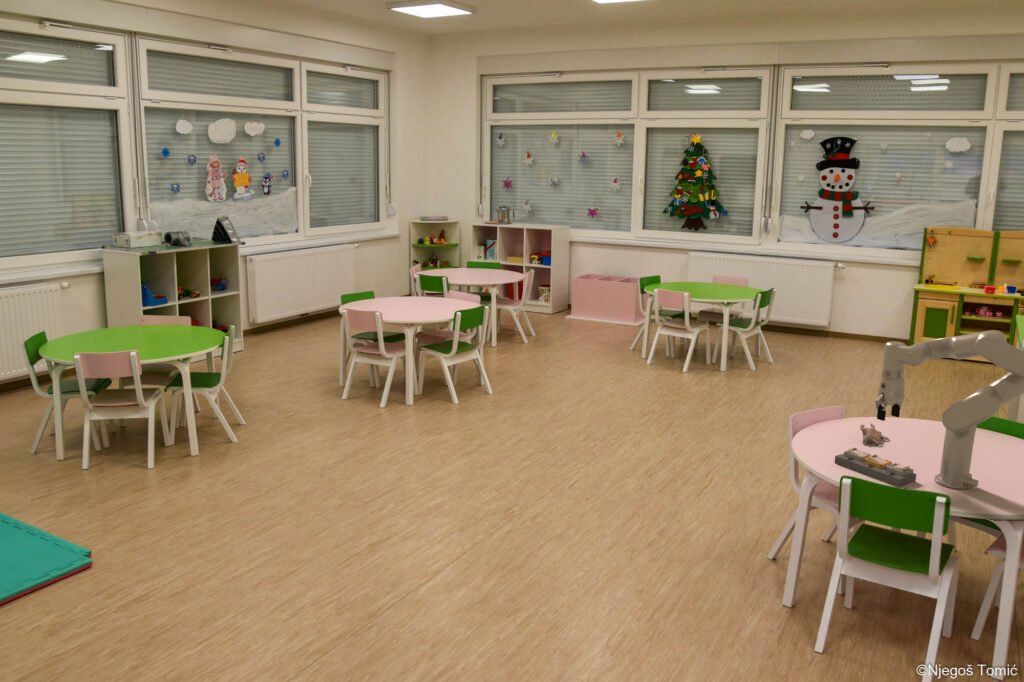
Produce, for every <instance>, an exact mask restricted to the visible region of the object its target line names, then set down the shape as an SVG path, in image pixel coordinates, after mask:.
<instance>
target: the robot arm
mask: <svg viewBox="0 0 1024 682" xmlns="http://www.w3.org/2000/svg"><path fill="white" fill-rule="evenodd" d="M978 357H982V358H983V359H985V360H987V361H989V362H990V363H992V364H994V365H996V366H997V367H999V368H1002V369H1003V370H1004V371H1006V372H1007V373H1006V374H1004V375H1003V376H1001V377H999V378H998V379H996V380H994V381H992V382H991V383H989V384H986V385H985V386H983V387H982V386H981V387H979V388H978V389H977V390H976V391H975V392H973V394H971V395H969V396H968V397H966V398H963V399H960V400H957V401H954V402H953V403H951V405H949V406H948V407H947V408H946V409H945V410H944V411H943V412H942V414H941V416H942V417H941V423H942V425H943V427H944V428H945V434H944V441H943V447H942V455H941V461H940V470H939V473H938V474H936V475H935V476H934V481H935V482H936V483H937V484H938V485H940V486H942V487H943V486H944V487H946V488H949V489H954V490H957V489H958V490H968V489H971V488H972V487H974V488H977V487H978V486H979V480H977V479H974V478H973V474H972V473H971V472H970V471H971V464H972V457H973V449H974V442H975V437H976V433H977V432H976V431H977V428H978V427H977V426H978V425H979V424H981V423H983V422H984V421H987V420H988V419H990V418H991V417H993V416H995V415H996V414H997V413H998V412H999V411H1000V410H1001V409H1002V408H1003V407H1004V406H1005V405H1007V404H1008V403H1011V402H1012V401H1014V400H1015V399H1017V398H1019V397H1021V395H1022V396H1023V394H1024V346H1022V347H1019V348H1018V347H1016V346H1014V345H1012V344H1010V343H1008V339H1007V336H1006V335H1005V334H1004V333H1003V332H1002V331H1000V330H995V329H991V330H985V331H979V332H973V333H968V334H962V335H956V336H948V337H942V338H934V339H929V340H923V341H919V342H916V343H914V344H912V345H907V344H906V343H904V342H902V341H894V340H893V341H887V342H886V343H885V344H884V350H883V360H882V371H881V378H880V383H879V388H878V393H877V398H876V399H874V400H875V401H874V403H875V407H876V409H877V412H876V413H877V414H876V420H879V421H883V422H884V421H886V416H887V410H886V409H887V407H888V406H891V409H890V410H891V412H890V415H891V416H892V417H895V418H899V417H900V413H901V407H902V403H903V402H904V399H905V397H906V396H905V395H906V394H905V377H904V375H905V365H908V366H911V367H918V366H921V365H922V364H924V363H925V362H927V361H933V360H939V359H945V358H947V359H948V358H950V359H954V360H965V359H966V360H967V359H971V358H978Z"/></svg>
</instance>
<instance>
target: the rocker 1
mask: <svg viewBox="0 0 1024 682" xmlns="http://www.w3.org/2000/svg"><path fill="white" fill-rule="evenodd" d="M848 450H849V452H850V453H852V454H855V455H858V456H865V455H867V454H865V453H866V452H865V453H864V451H862V450H861V449H859V448H857V447H851V448H848Z"/></svg>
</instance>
